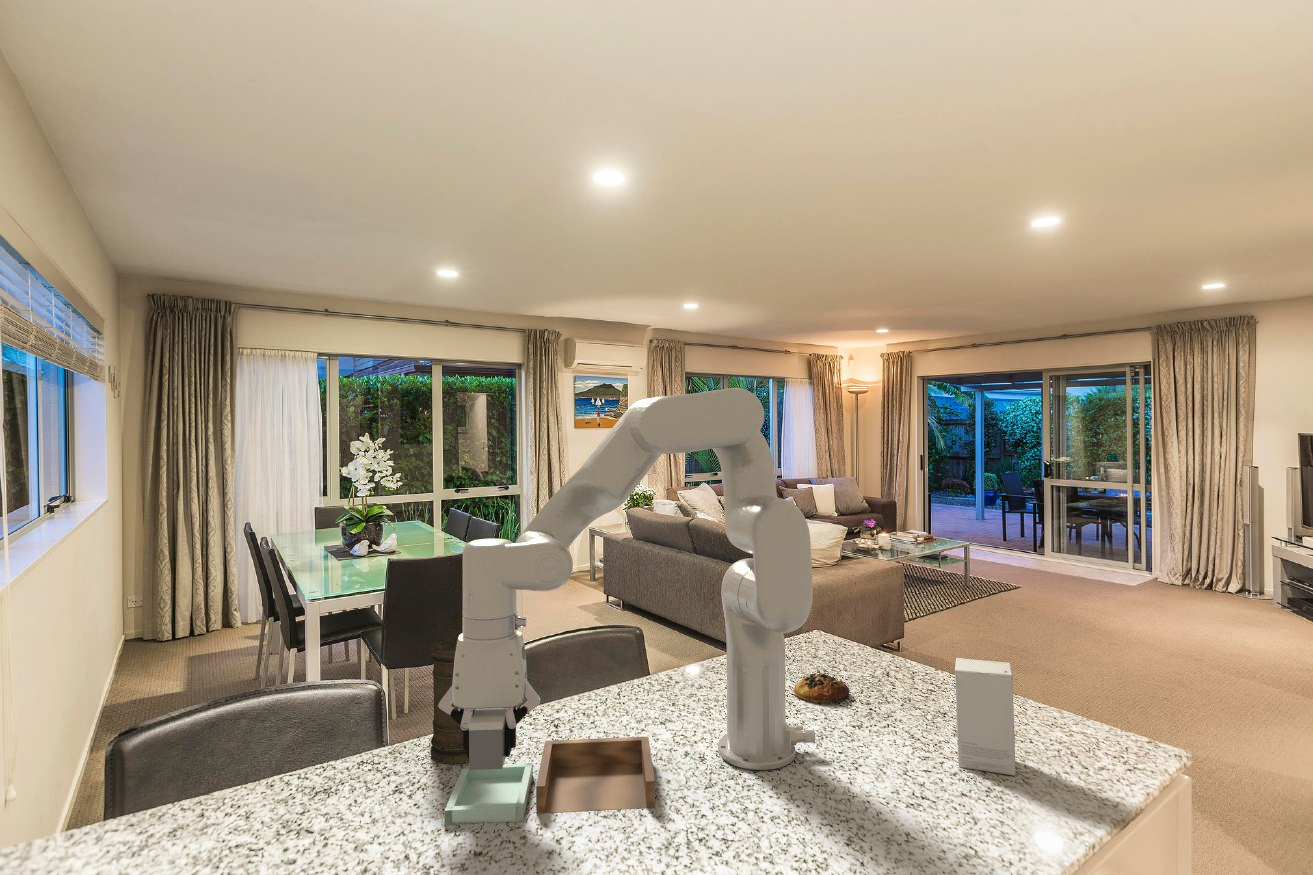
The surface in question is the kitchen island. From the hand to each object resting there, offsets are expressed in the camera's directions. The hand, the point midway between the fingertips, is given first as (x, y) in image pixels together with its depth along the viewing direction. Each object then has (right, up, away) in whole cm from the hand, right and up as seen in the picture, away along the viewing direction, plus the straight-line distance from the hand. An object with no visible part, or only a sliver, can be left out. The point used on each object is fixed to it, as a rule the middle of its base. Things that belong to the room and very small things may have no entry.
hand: (490, 751), depth 99 cm
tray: (0, -7, 0) cm, 7 cm away
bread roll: (+57, -7, +39) cm, 69 cm away
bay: (+15, -7, +3) cm, 17 cm away
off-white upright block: (0, -1, 0) cm, 1 cm away
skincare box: (+76, -7, +10) cm, 77 cm away
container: (-9, -7, +15) cm, 19 cm away
